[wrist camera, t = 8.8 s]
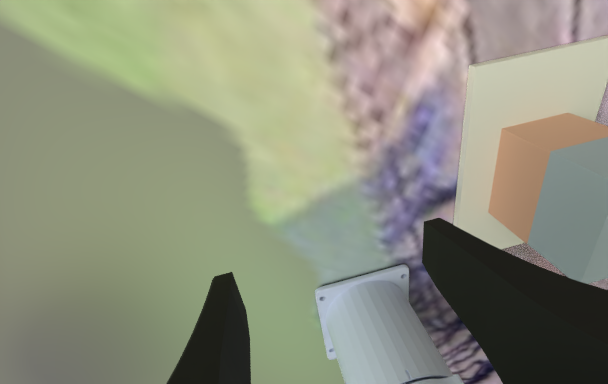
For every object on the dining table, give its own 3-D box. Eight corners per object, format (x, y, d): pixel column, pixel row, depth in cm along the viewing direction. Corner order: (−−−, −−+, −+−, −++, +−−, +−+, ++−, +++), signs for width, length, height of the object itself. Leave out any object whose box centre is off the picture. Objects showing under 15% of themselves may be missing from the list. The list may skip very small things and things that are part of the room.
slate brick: (592, 225, 24) (653, 264, 20) (527, 243, 23) (579, 286, 20) (626, 132, 20) (709, 160, 17) (550, 151, 20) (619, 184, 16)
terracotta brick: (545, 197, 27) (591, 226, 24) (488, 212, 27) (526, 244, 23) (568, 112, 23) (626, 132, 20) (501, 128, 23) (550, 151, 20)
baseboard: (554, 229, 30) (559, 233, 30) (449, 257, 29) (453, 262, 29) (612, 33, 22) (622, 34, 21) (469, 65, 21) (475, 66, 20)
